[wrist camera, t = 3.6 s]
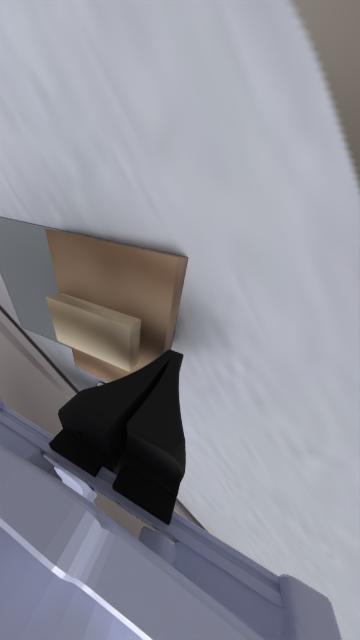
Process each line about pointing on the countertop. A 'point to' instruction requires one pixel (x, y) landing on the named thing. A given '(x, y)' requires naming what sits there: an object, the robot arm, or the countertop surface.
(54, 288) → the charcoal mat
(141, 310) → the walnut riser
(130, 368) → the birch tile
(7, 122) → the countertop surface
